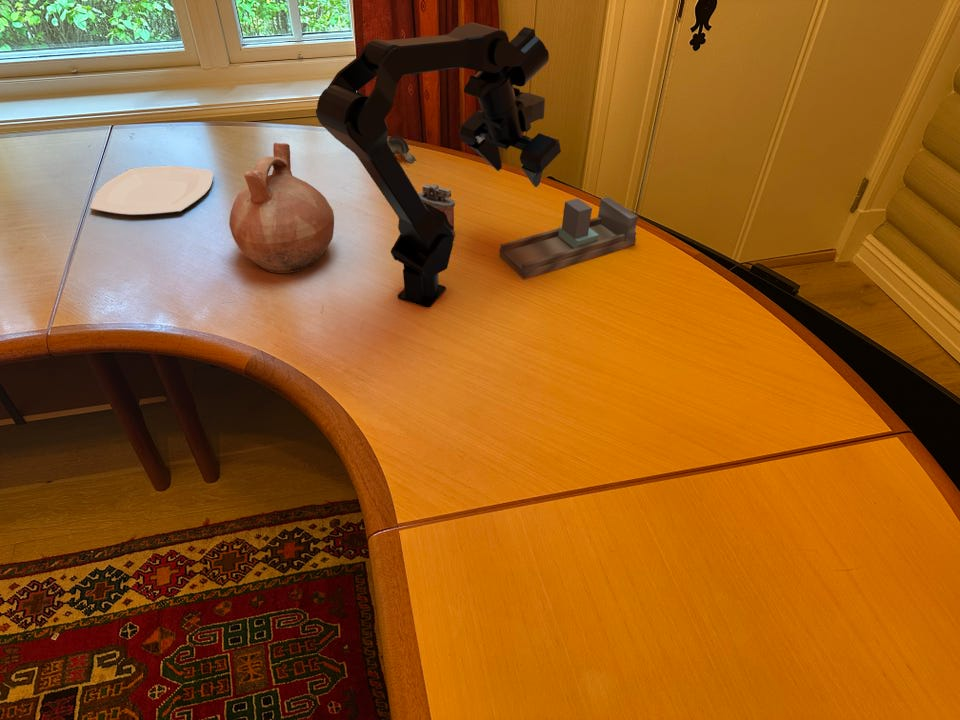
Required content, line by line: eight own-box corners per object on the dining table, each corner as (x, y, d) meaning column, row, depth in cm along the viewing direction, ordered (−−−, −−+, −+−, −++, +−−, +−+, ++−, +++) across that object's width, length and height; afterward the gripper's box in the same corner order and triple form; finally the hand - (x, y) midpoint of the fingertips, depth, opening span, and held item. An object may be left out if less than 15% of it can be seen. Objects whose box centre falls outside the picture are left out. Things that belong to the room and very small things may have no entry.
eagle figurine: (373, 162, 144) (409, 159, 142) (371, 131, 143) (407, 127, 141) (385, 168, 152) (419, 165, 150) (384, 138, 151) (418, 135, 149)
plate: (190, 224, 124) (187, 215, 123) (77, 220, 124) (73, 212, 123) (227, 175, 141) (225, 167, 140) (128, 172, 141) (125, 164, 140)
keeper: (576, 250, 115) (581, 213, 110) (558, 236, 119) (562, 199, 114) (597, 244, 117) (603, 207, 112) (578, 230, 121) (583, 194, 116)
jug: (315, 290, 107) (294, 184, 93) (221, 277, 109) (188, 171, 96) (353, 238, 120) (339, 138, 107) (268, 227, 123) (244, 129, 109)
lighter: (415, 231, 123) (412, 185, 116) (424, 224, 125) (422, 178, 118) (449, 241, 120) (449, 194, 113) (458, 234, 122) (457, 187, 116)
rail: (524, 279, 110) (527, 248, 106) (499, 256, 116) (500, 225, 112) (634, 245, 120) (641, 215, 116) (606, 225, 126) (611, 196, 122)
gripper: (575, 87, 94) (586, 164, 107) (488, 61, 104) (508, 135, 117) (530, 132, 92) (547, 205, 105) (445, 100, 101) (470, 172, 114)
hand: (518, 177), depth 110 cm, fingers open, 9 cm apart
